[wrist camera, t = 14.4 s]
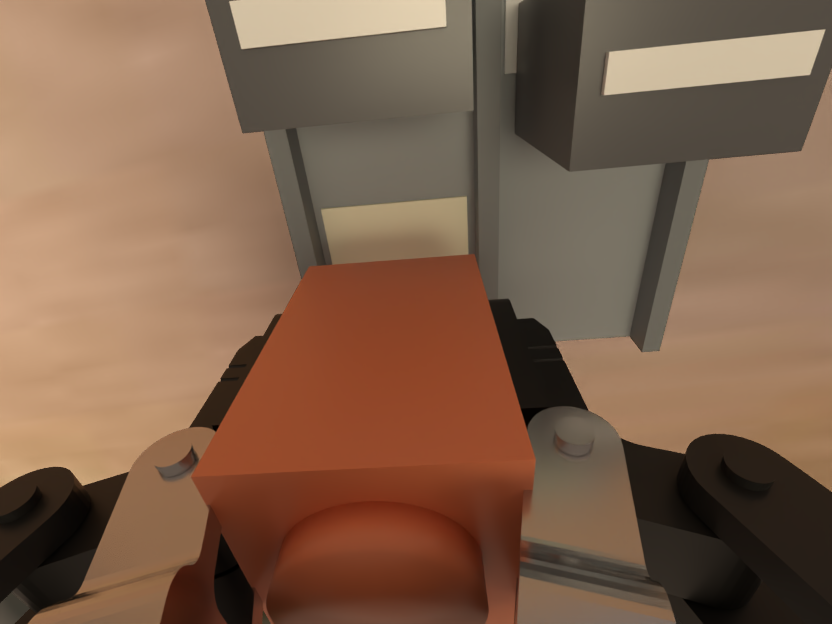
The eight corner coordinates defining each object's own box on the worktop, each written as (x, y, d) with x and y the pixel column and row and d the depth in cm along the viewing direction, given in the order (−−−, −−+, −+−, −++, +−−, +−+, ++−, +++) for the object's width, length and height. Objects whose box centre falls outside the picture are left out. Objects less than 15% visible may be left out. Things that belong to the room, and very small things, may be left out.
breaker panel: (613, 296, 18) (661, 354, 14) (343, 316, 19) (324, 376, 15) (774, -621, 8) (1075, -1206, 4) (169, -508, 9) (-16, -931, 5)
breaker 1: (453, 94, 11) (474, 111, 7) (309, 108, 11) (239, 133, 7) (447, -49, 10) (470, -147, 5) (282, -30, 10) (171, -106, 6)
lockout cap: (475, 383, 12) (528, 674, 6) (338, 392, 12) (266, 682, 6) (474, 254, 10) (550, 508, 4) (308, 266, 10) (163, 526, 4)
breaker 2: (659, 120, 12) (806, 152, 7) (514, 133, 12) (571, 173, 7) (685, -16, 10) (893, -81, 6) (518, 3, 10) (592, -46, 6)
